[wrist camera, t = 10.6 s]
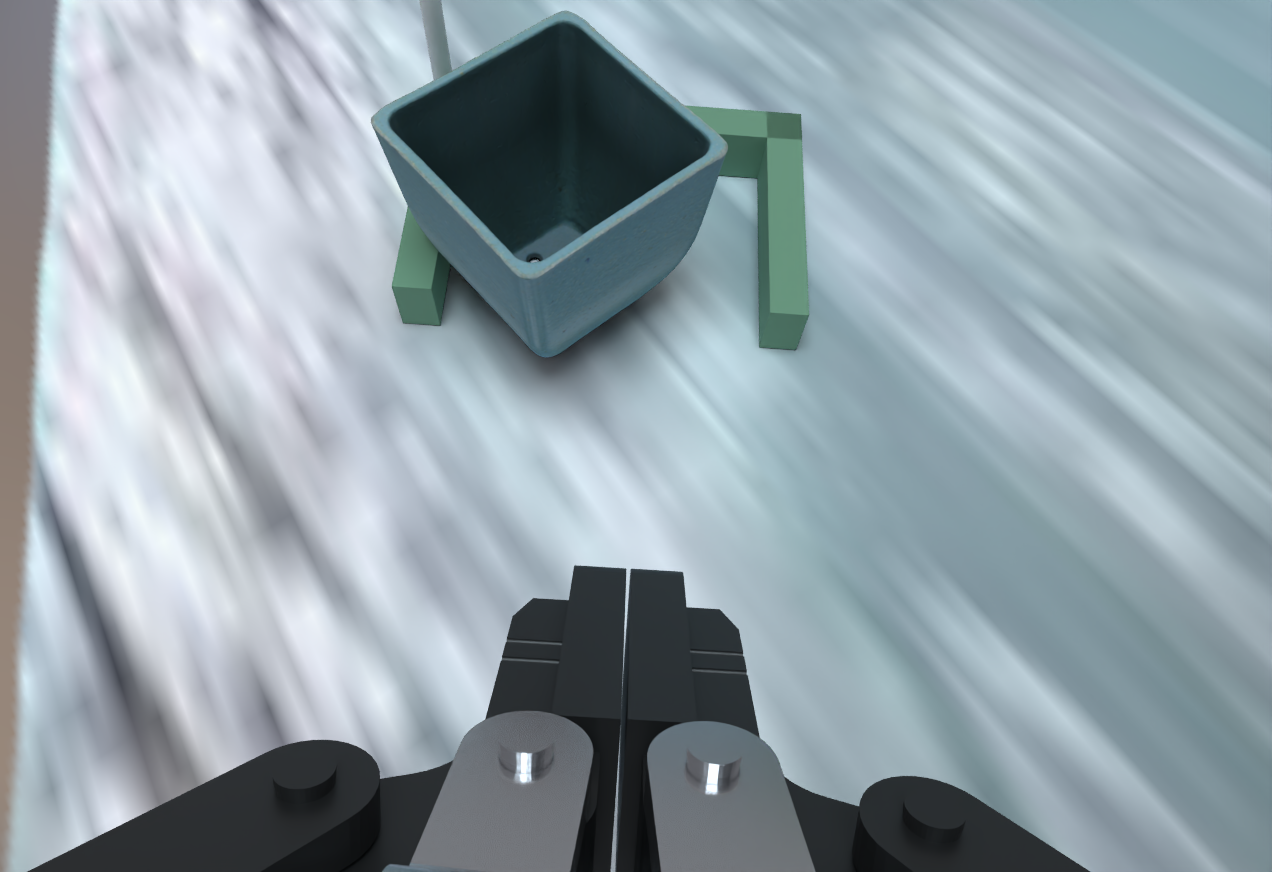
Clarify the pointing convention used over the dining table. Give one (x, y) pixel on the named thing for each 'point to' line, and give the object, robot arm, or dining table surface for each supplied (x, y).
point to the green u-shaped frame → (753, 151)
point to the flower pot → (553, 177)
